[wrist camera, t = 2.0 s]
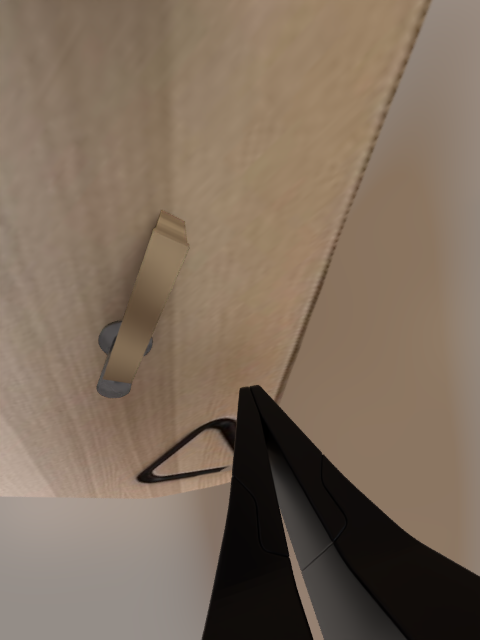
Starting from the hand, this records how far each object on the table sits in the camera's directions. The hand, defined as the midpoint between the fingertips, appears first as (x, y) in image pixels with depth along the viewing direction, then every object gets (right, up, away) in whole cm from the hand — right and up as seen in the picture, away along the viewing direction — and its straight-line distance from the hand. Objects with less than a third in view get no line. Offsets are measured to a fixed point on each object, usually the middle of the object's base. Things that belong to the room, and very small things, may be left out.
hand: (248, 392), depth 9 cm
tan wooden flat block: (-7, +6, +8) cm, 13 cm away
